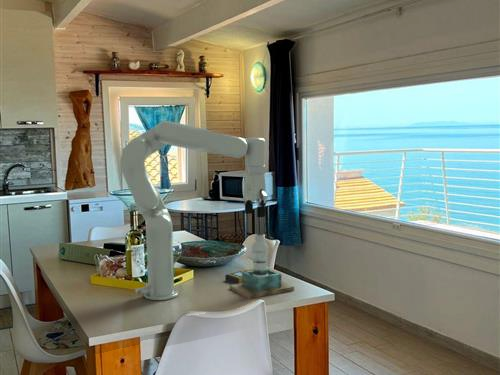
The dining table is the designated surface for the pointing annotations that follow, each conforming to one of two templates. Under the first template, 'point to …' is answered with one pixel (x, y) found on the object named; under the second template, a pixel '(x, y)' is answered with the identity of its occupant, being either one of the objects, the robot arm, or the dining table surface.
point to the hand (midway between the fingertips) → (254, 215)
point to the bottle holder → (261, 285)
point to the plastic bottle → (260, 256)
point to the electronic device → (236, 276)
